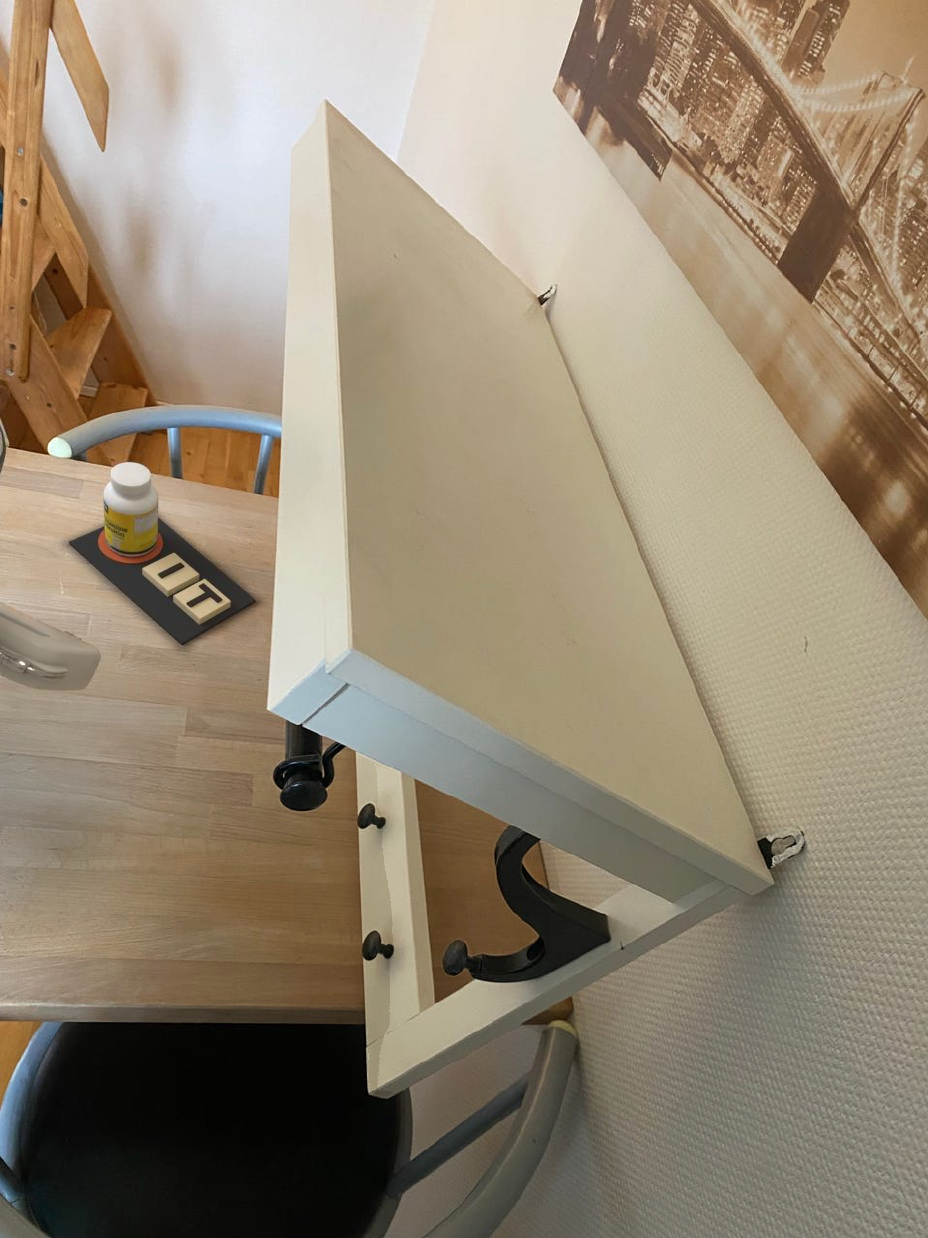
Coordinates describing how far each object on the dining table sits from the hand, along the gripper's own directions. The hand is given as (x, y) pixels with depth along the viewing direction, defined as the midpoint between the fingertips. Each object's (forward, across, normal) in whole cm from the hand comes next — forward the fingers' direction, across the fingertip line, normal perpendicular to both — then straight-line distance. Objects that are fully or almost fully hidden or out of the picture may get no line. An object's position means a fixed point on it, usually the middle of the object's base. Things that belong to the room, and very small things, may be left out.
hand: (24, 621), depth 72 cm
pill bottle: (+36, +11, -8) cm, 38 cm away
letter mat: (+35, +5, -5) cm, 36 cm away
